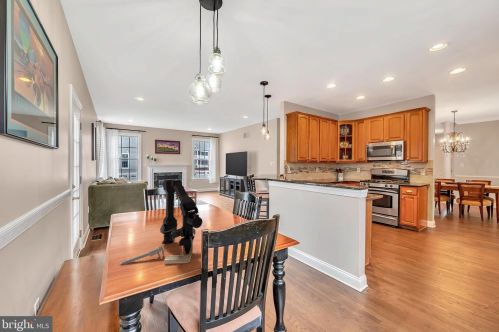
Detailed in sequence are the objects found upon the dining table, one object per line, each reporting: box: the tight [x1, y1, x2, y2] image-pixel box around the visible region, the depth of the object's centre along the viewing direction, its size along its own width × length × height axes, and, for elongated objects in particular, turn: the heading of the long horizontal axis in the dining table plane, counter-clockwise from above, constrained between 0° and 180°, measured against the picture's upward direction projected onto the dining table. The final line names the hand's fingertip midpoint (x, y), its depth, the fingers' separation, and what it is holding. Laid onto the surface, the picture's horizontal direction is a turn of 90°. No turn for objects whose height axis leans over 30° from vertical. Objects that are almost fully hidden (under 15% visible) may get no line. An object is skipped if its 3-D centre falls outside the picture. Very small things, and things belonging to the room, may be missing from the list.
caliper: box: [118, 245, 165, 266], centre depth 107 cm, size 20×1×6 cm, turn 119°
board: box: [164, 254, 192, 265], centre depth 106 cm, size 4×12×2 cm, turn 98°
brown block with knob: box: [182, 243, 194, 257], centre depth 113 cm, size 4×4×6 cm
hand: (187, 252), depth 113 cm, fingers closed on brown block with knob, 4 cm apart
